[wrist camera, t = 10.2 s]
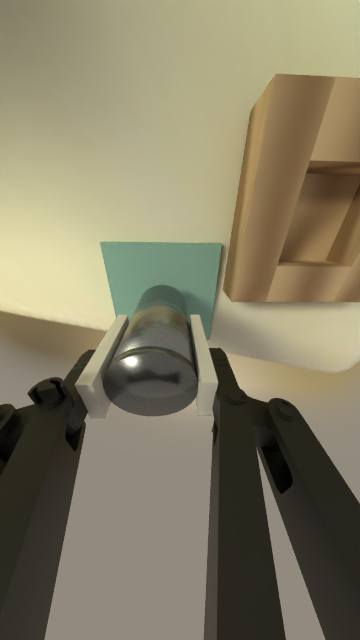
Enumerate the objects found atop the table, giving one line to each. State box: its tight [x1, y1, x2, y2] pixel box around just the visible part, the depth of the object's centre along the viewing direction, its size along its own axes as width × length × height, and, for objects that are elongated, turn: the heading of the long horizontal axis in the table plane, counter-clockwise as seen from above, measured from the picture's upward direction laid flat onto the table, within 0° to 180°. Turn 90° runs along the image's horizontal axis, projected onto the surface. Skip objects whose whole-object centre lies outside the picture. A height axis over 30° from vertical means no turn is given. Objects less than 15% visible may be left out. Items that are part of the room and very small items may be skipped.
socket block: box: [223, 74, 360, 302], centre depth 14 cm, size 14×14×4 cm
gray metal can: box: [103, 285, 198, 416], centre depth 13 cm, size 5×5×10 cm
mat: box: [100, 242, 222, 340], centre depth 19 cm, size 12×12×1 cm
